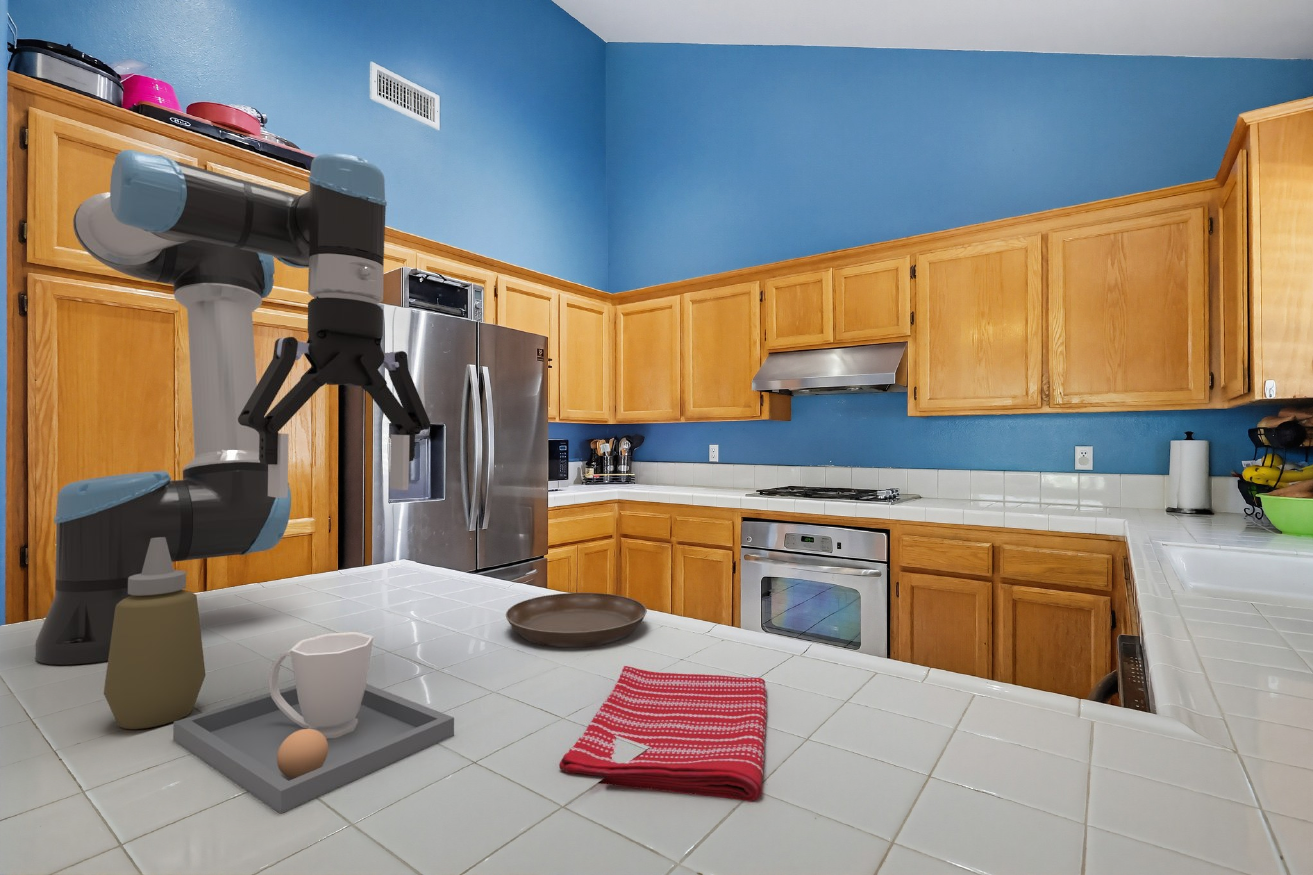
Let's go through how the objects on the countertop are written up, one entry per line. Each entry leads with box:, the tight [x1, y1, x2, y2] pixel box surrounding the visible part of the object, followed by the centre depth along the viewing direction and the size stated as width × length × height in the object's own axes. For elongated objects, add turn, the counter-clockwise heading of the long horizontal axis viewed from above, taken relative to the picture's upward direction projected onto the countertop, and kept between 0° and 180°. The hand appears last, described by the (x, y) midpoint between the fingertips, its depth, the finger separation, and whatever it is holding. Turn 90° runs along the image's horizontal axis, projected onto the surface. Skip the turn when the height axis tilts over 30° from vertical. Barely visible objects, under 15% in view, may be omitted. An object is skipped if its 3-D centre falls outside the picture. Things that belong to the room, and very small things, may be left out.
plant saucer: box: [505, 592, 648, 648], centre depth 94 cm, size 21×21×3 cm
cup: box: [268, 631, 374, 739], centre depth 60 cm, size 7×10×8 cm
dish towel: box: [558, 665, 768, 802], centre depth 61 cm, size 17×24×3 cm
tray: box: [172, 683, 455, 815], centre depth 58 cm, size 20×15×2 cm
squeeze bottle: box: [103, 537, 206, 730], centre depth 64 cm, size 8×8×18 cm
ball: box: [277, 729, 328, 779], centre depth 51 cm, size 4×4×4 cm
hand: (343, 493), depth 71 cm, fingers open, 13 cm apart
